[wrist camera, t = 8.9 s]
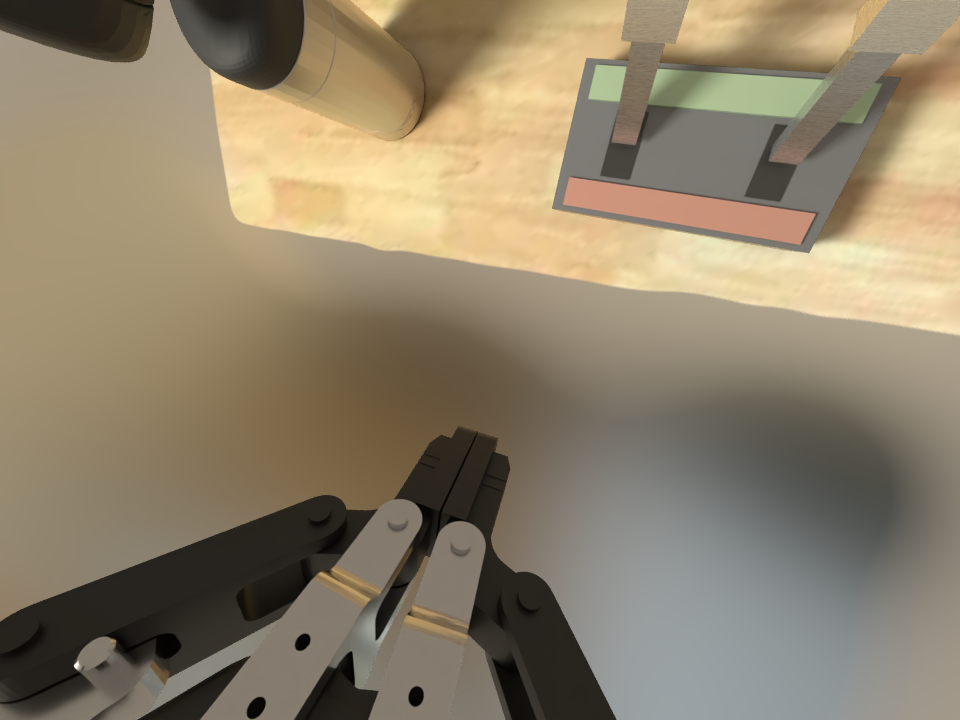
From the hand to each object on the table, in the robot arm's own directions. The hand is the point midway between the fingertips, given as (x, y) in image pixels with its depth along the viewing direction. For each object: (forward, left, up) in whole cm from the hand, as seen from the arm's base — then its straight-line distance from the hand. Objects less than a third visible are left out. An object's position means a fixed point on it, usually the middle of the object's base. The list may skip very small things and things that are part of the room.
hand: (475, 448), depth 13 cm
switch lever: (+4, +20, -28) cm, 34 cm away
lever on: (-7, +14, -28) cm, 32 cm away
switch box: (-1, +17, -32) cm, 36 cm away
